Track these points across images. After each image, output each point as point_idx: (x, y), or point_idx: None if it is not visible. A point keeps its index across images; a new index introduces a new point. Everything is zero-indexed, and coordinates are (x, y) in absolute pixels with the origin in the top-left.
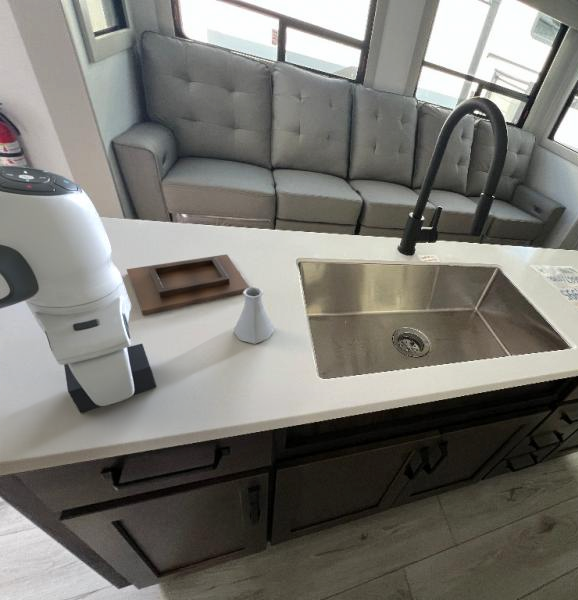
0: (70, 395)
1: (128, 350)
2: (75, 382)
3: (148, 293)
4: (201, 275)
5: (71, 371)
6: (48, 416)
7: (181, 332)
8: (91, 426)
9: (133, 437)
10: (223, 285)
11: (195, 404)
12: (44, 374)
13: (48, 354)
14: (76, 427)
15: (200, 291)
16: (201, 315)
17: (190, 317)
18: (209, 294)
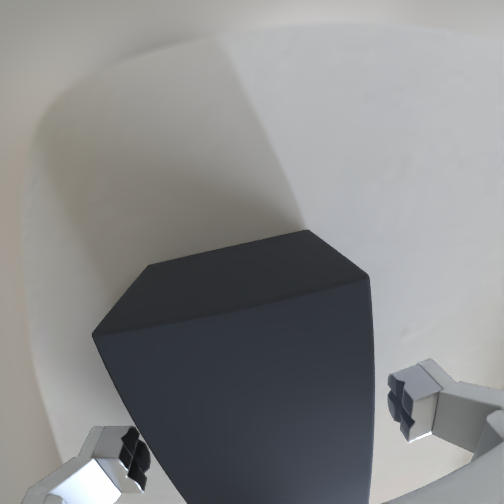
0: (106, 317)
1: (345, 494)
2: (164, 360)
3: None
4: None
5: (276, 330)
6: (165, 160)
7: (424, 456)
8: (86, 302)
9: (45, 392)
10: None
11: (136, 494)
12: (404, 119)
13: (484, 131)
14: (89, 260)
15: None
16: (454, 469)
17: (462, 454)
18: None
